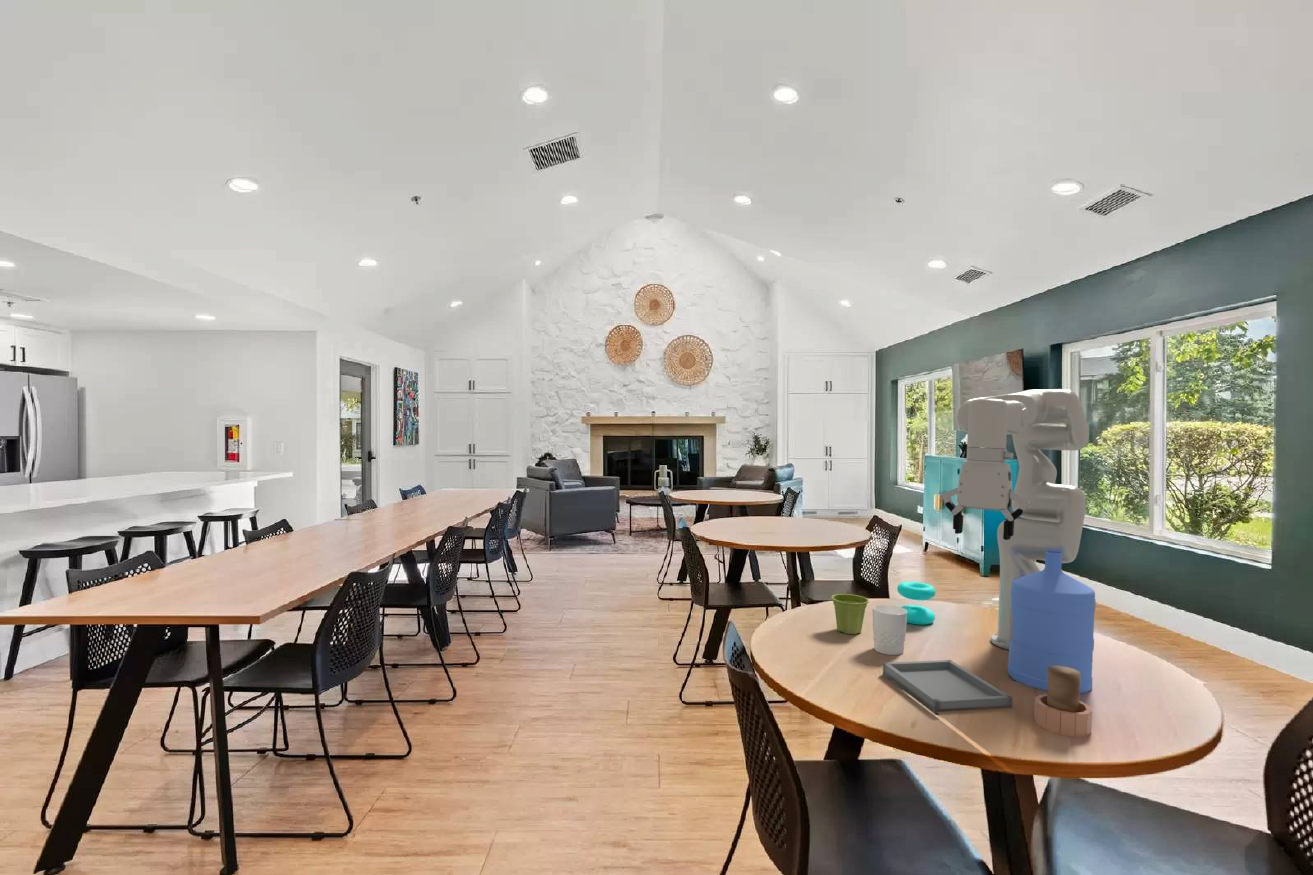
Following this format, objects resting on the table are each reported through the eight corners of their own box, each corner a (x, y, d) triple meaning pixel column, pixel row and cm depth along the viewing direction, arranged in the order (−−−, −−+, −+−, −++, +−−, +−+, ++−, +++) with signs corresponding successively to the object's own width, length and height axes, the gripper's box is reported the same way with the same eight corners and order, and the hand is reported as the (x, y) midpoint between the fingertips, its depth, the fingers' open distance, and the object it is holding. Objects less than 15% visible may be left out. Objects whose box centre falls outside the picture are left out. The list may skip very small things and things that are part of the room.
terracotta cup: (1064, 716, 126) (1065, 693, 126) (1102, 738, 118) (1103, 713, 118) (1024, 719, 125) (1024, 695, 125) (1058, 741, 116) (1059, 715, 116)
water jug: (1111, 695, 137) (1116, 559, 136) (1042, 698, 134) (1048, 560, 134) (1053, 666, 152) (1058, 544, 151) (991, 669, 150) (996, 545, 149)
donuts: (902, 578, 192) (939, 584, 187) (900, 613, 193) (937, 619, 187) (893, 585, 184) (931, 591, 179) (892, 621, 184) (930, 628, 179)
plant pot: (828, 624, 180) (829, 592, 180) (864, 626, 179) (865, 594, 179) (832, 635, 171) (833, 602, 171) (870, 638, 170) (871, 604, 170)
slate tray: (949, 671, 148) (950, 659, 148) (1011, 710, 129) (1012, 697, 128) (882, 674, 146) (883, 662, 146) (935, 714, 126) (936, 701, 126)
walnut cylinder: (1063, 718, 124) (1065, 665, 124) (1085, 730, 119) (1087, 675, 119) (1039, 719, 123) (1041, 666, 123) (1060, 732, 118) (1062, 676, 118)
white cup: (901, 645, 164) (902, 605, 164) (910, 657, 157) (911, 615, 156) (868, 644, 165) (869, 604, 165) (875, 655, 157) (876, 613, 157)
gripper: (1035, 458, 140) (1031, 540, 140) (949, 454, 152) (946, 529, 152) (1026, 459, 135) (1022, 543, 135) (938, 454, 146) (934, 532, 146)
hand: (982, 536), depth 143 cm, fingers open, 9 cm apart
